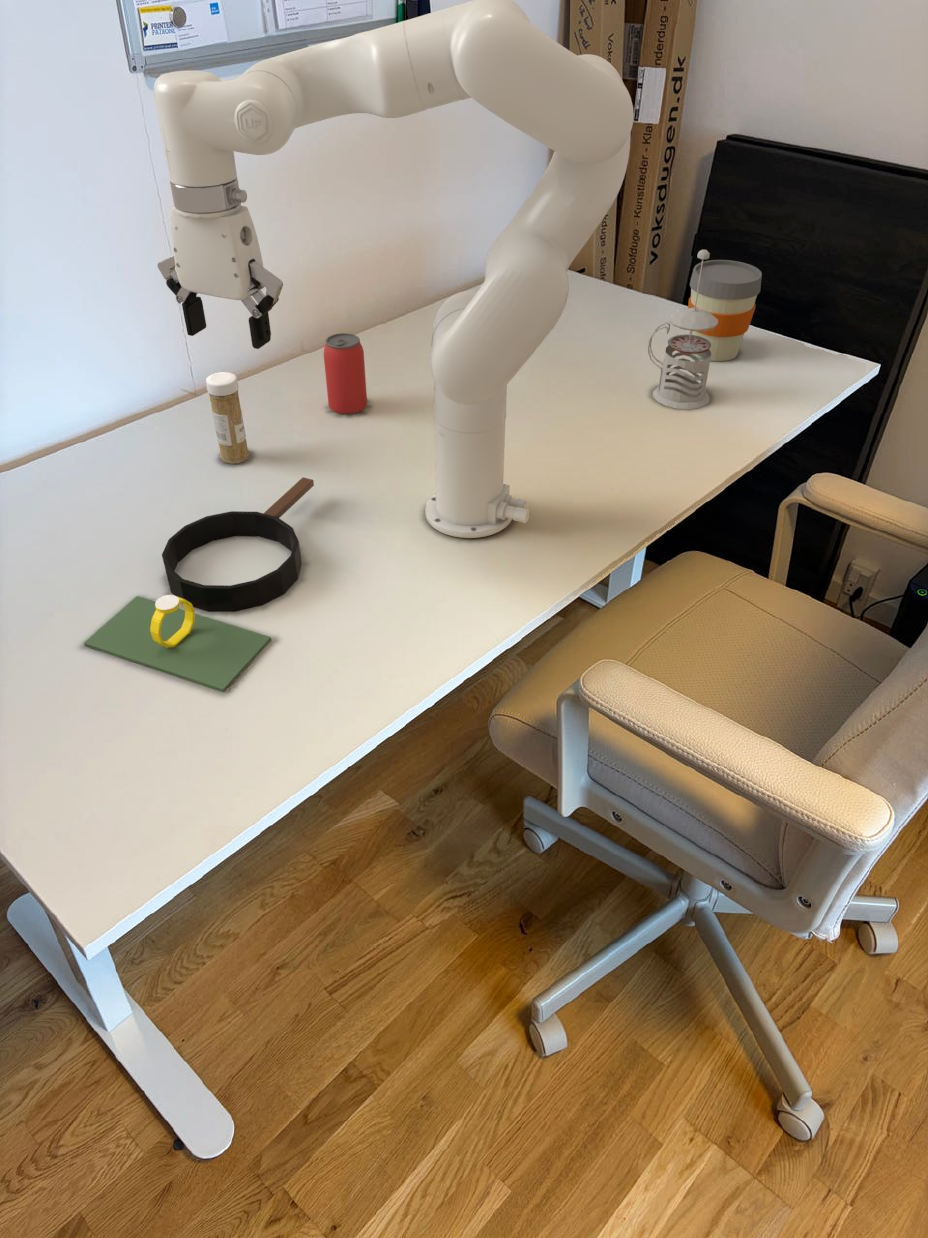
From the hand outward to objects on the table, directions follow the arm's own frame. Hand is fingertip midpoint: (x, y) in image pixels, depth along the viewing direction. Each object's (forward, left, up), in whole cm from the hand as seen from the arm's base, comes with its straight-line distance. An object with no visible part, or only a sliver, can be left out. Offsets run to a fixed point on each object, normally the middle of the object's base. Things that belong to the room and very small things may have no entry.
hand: (229, 338), depth 121 cm
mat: (-7, +28, -26) cm, 39 cm away
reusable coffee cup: (-48, -82, -26) cm, 99 cm away
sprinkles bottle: (+12, -12, -26) cm, 31 cm away
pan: (-5, +8, -26) cm, 28 cm away
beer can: (+4, -34, -26) cm, 43 cm away
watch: (-7, +28, -26) cm, 39 cm away
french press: (-46, -61, -26) cm, 81 cm away
